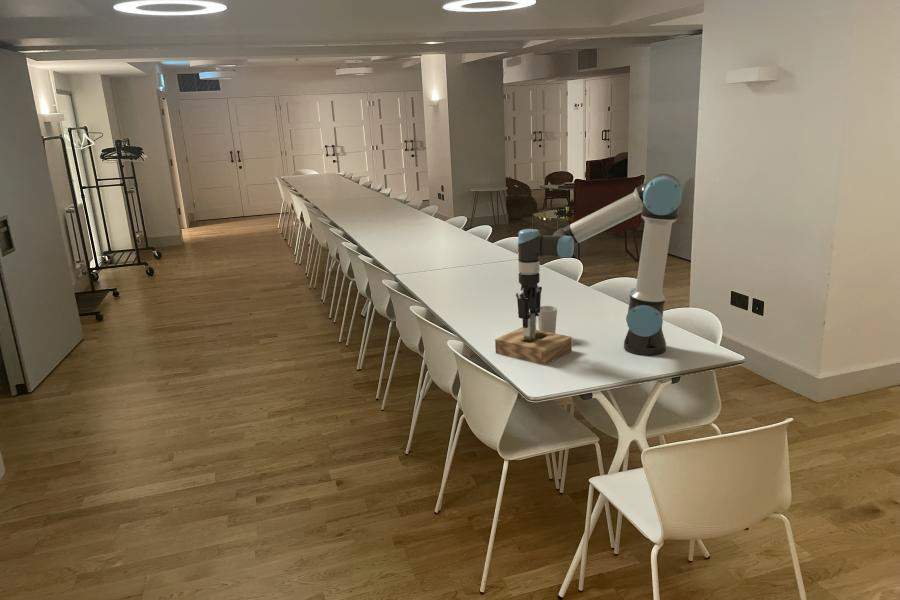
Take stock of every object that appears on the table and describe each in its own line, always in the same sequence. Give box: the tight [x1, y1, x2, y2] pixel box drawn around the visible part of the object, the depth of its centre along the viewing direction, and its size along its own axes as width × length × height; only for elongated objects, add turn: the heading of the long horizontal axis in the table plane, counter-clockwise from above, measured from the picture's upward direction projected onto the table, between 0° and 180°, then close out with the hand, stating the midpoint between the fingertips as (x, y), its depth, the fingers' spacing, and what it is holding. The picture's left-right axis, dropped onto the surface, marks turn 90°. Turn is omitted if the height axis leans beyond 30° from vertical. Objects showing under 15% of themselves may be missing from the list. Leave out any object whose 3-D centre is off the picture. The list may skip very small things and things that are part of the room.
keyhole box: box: [494, 326, 573, 366], centre depth 247 cm, size 22×18×6 cm
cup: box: [537, 305, 558, 333], centre depth 262 cm, size 8×8×12 cm
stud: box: [524, 311, 535, 343], centre depth 244 cm, size 5×5×15 cm
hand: (529, 334), depth 244 cm, fingers closed on stud, 3 cm apart
